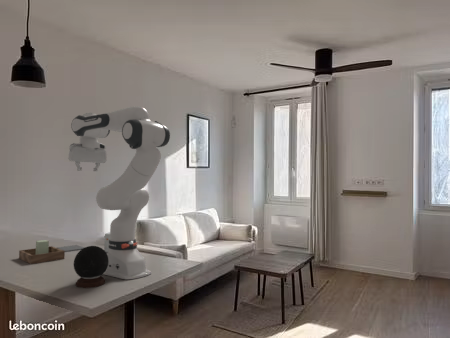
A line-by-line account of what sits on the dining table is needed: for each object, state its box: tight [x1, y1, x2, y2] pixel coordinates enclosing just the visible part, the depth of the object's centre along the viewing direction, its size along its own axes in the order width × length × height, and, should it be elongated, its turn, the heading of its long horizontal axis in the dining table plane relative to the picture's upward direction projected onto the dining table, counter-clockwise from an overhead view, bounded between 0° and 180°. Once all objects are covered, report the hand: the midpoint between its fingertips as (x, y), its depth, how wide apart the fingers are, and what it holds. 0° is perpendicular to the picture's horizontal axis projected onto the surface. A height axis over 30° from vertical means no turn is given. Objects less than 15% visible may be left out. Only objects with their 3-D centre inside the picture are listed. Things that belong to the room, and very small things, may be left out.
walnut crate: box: [18, 245, 66, 265], centre depth 175 cm, size 16×16×4 cm
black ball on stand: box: [73, 245, 109, 289], centre depth 137 cm, size 13×13×15 cm
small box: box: [103, 231, 110, 253], centre depth 195 cm, size 8×6×10 cm
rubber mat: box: [56, 244, 85, 253], centre depth 199 cm, size 12×12×1 cm
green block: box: [35, 239, 50, 255], centre depth 175 cm, size 4×4×9 cm
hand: (87, 171), depth 178 cm, fingers open, 8 cm apart
